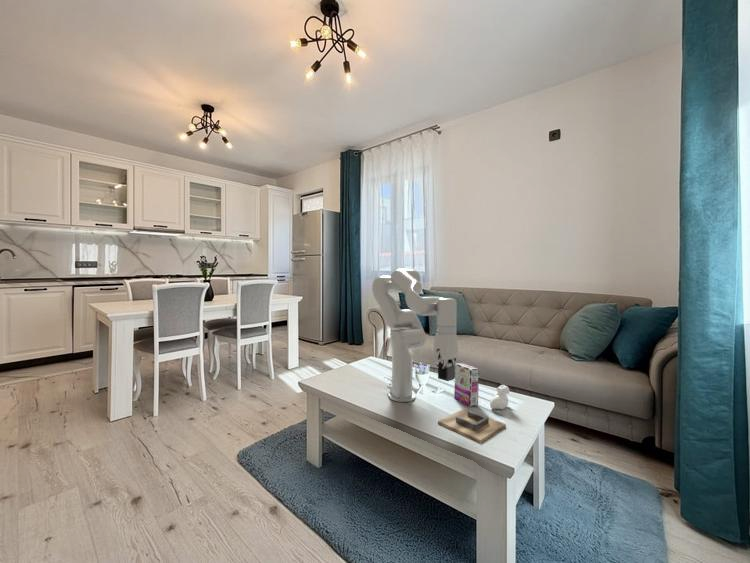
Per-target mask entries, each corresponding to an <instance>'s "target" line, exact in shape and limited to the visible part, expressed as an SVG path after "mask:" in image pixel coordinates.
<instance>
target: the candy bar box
mask: <svg viewBox="0 0 750 563" xmlns="http://www.w3.org/2000/svg"><path fill="white" fill-rule="evenodd" d="M479 378H480V368H477V367H476V366H472V365H470V364H467V363H465V362H457V363H456V362H455V379H454V392H453V393H454V394H453V395H454V396H453V398H454V399H455V400H457V401H459V402H460V401H461V402H460V403H462V404H464V405H466V406H468V407H470V408H471V407H476V406H477V407H478V406H479V382H480V380H479Z"/></svg>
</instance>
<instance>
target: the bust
mask: <svg viewBox="0 0 750 563" xmlns="http://www.w3.org/2000/svg"><path fill="white" fill-rule="evenodd" d="M495 389H496V391H497V392H496V393H495V394H494V395H493V397H492V398H491V399H490V403H489V405H490V409H493V410H494V409H496V410H504V409H506V408H507V407H508V405H509V397H508V394H510V388H509V386H508V385H506V384H500V385H499V386H498V387H496V388H495Z"/></svg>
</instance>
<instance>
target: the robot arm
mask: <svg viewBox="0 0 750 563" xmlns="http://www.w3.org/2000/svg"><path fill="white" fill-rule="evenodd" d="M371 286H372V289H371V290H372V294H373V297H374V300H375V301H376V303H377V305H379V308H380V310H381V313H382V315H383V317H384V320H385V323H386V325H387V327H388V328H389V329H391V330H393V332H392V333H391V335H390V347H391V358H392V359H391V363H392V364H391V365H392V366H391V368H392V369H391V370H392V371H391V382H389V383H388V385H387V387H386V388H387V389H389V392H388V398H389V399H390V400H392V401H394V402H397V403H399V402H400V403H407V402H408V403H409V402H412V401H414V400H415V399H416V394H415V393H414V392H413V375H414V373H413V370H414V369H413V366H414V365H413V364H414V362H413V356H412V354H411V352H410V350H415V349H416V350H417V349H420V348H423V347H424V346H425V345H426V344H427V335H426V332H425V330H424V328H423V327H424V326H422V323H421V321H420V318H419V316H422V317H423V316H424V317H425V316H426V317H428V316H436V333H435V336H434V339H433V340H434V342H433V362H434V363H435V364H436V366H437V378H438V377H439V378H442V379H446V369H445V364H446V362H448V363H452V366H455V364H456V361H457V359H458V358H459V354H458V352H459V351H458V350H459V348H458V337H457V310H458V308H457V304H458V303H457V300H456V299H455V298H452V297H451V298H450V297H442V296H420V293H421V292H422V288H423V287H422V283H421V275H420V272H418V271H417V270H416V269H413V268H397V269H395V270H393V271H392V272H391V274H390V275H382V276H381V275H380V276H378V277H376V278H375V279H373V281H372V285H371ZM393 293H394V294H396V293H397V294H399V293H403V294H404V298H405V299H404V300H405V303H406V306H407V307H408V308H407V309H401V308H400V307H399V305H398V303H397V302H398V301H396V299H395V298H394V297H393V296H392V295H390V294H393ZM394 330H395V331H394ZM442 363H443V364H442Z"/></svg>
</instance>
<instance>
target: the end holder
mask: <svg viewBox="0 0 750 563" xmlns="http://www.w3.org/2000/svg"><path fill="white" fill-rule="evenodd" d="M437 424H438V425H440V426H443V427H444V428H447V429H449V430H451V431H454V432H456V433H458V434H460V435H461V436H464V437H467V438H469V439H471V440H473V441H476V442H478V443H479V444H482V443H483V442H484V441H486V440H487V439H489V438H491V437H492V436H493V435H495V434H497V433H498V432H500V431H502V430H503V429H504V428H506V427H507V426H506V425H507V424H506V423H503V422H501V421H499V420H496V419H493V418H490V417H488V416H485V415H483V414H480V413H478V412H475V411H472V410H470V409H467V408H462V409H460V410H458V411H455V412H454V413H451V414H450V415H447V416H446V417H443V418H441V419H438V421H437Z"/></svg>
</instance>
